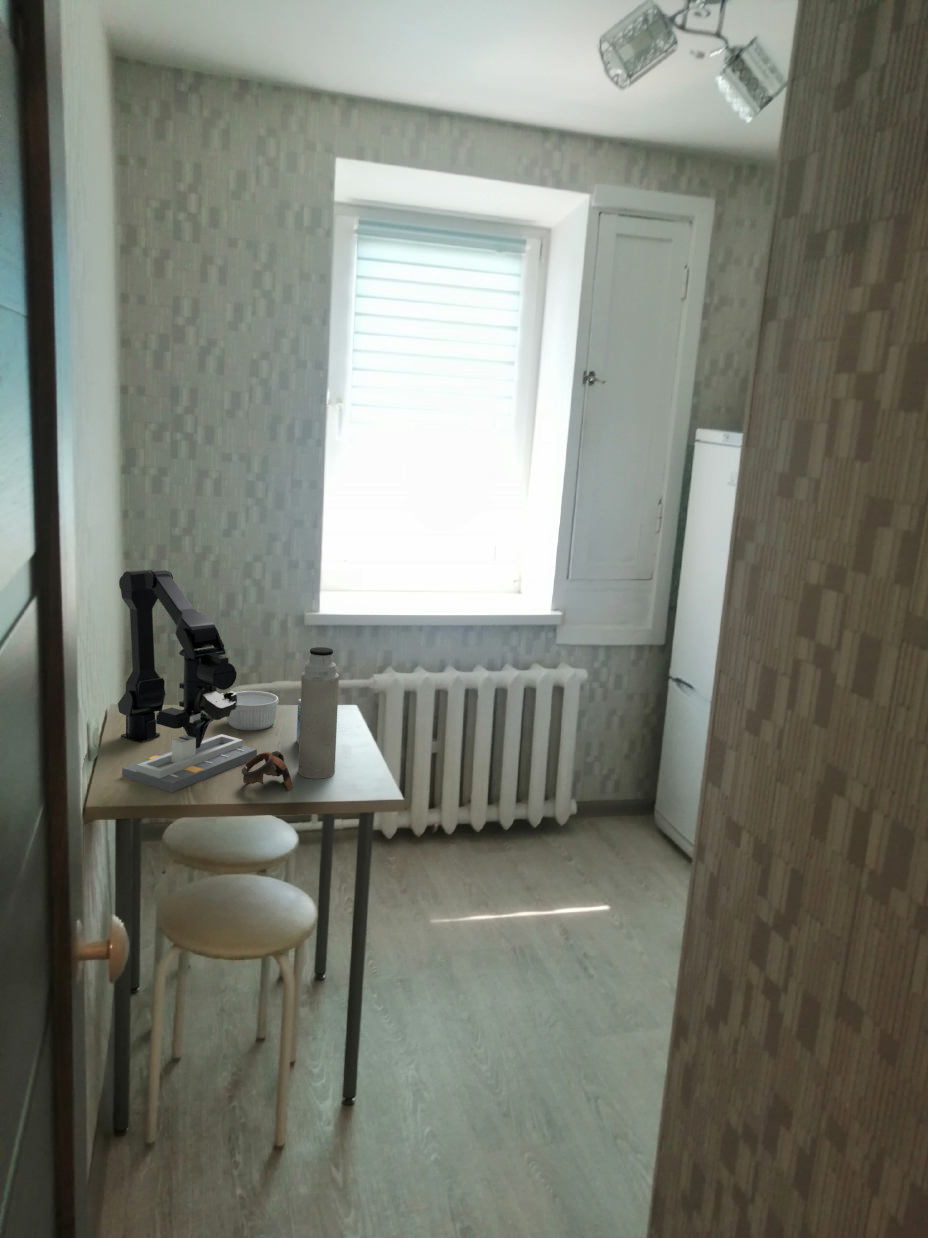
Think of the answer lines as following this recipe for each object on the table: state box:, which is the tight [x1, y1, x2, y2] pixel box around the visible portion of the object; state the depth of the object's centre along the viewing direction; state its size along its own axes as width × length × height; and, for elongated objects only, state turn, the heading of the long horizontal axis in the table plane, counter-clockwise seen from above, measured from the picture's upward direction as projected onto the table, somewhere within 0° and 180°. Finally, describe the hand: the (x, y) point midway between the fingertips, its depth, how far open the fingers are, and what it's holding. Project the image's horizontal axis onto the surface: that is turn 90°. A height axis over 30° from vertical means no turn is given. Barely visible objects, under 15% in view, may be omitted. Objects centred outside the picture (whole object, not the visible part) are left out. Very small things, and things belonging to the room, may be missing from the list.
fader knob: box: [171, 734, 196, 763], centre depth 197 cm, size 3×4×5 cm
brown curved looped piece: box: [241, 750, 293, 792], centre depth 193 cm, size 12×10×8 cm
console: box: [121, 733, 258, 793], centre depth 200 cm, size 14×26×4 cm, turn 152°
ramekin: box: [226, 690, 279, 731], centre depth 231 cm, size 13×13×7 cm
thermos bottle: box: [297, 646, 340, 780], centre depth 200 cm, size 8×8×28 cm
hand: (196, 747), depth 201 cm, fingers closed
